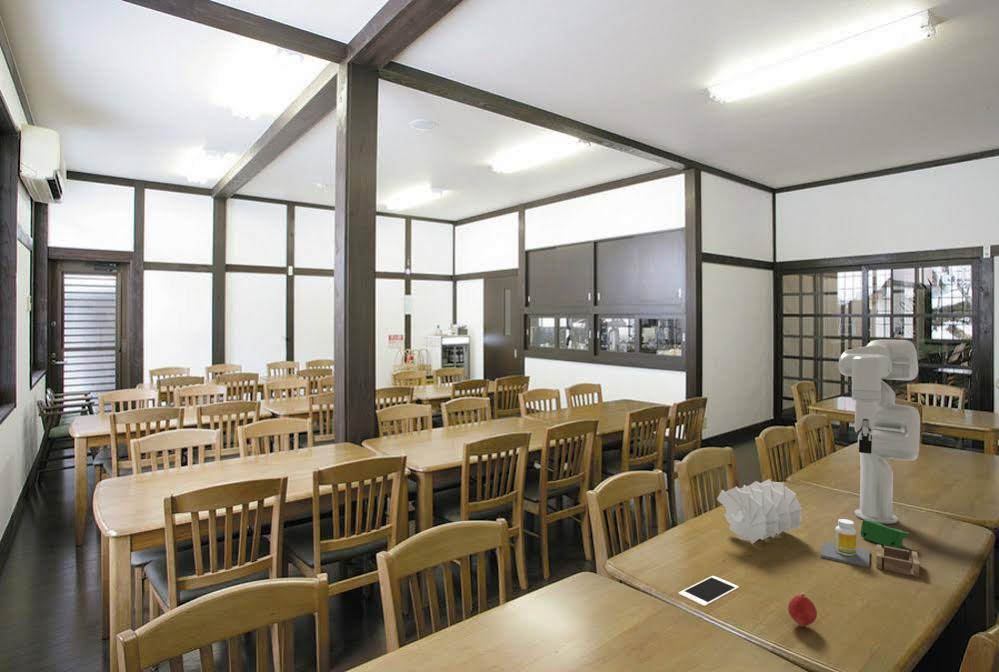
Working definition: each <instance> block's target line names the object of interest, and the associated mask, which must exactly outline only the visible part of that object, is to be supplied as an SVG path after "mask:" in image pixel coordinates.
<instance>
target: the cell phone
mask: <svg viewBox="0 0 999 672" xmlns="http://www.w3.org/2000/svg"><path fill="white" fill-rule="evenodd" d="M737 589H740V587H739V586H738V585H737V584H734V583H733V582H730V581H727V580H725V579H723V578H721V577H718V576H715V575H711V576H709V577H707V578H705V579H702V580H701V581H699V582H697V583H695V584H693V585H690V586H688V587H687V588H685V589H683V590H681V591H679V592H678V595H680V596H682V597H684V598H686V599H688V600H690V601H692V602H695V603H696V604H699V605H700V606H703V607H707V606H708V605H710V604H712V603H714V602H716V601H717V600H719V599H721V598H724V596H726V595H729V594H730V593H732V592H734V591H735V590H737Z"/></svg>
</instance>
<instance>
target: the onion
mask: <svg viewBox="0 0 999 672" xmlns="http://www.w3.org/2000/svg"><path fill="white" fill-rule="evenodd" d="M787 610H788V613H789V616H790V618H791V619H792V620H793V621H794V622H795V623H796V624H797V625H798V626H800V627H801V628H805V627H808V626H809V625H811V624H813V623H815V620H816V619H817V617H818V612H817V608H816V606H815V604H814V603H813V601H812V600H811V599H810V598H809V597H807V596H806V594H805V593H804V592H801V593H800V594H797V595H795V596H793V597H792V598H791V600H790V601H789V603H788V605H787Z"/></svg>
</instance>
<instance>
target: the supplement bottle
mask: <svg viewBox="0 0 999 672" xmlns="http://www.w3.org/2000/svg"><path fill="white" fill-rule="evenodd" d="M854 527H855V523H854V521H853V520H850V519H846V518H840V519H839V518H838V521H837V526H836V527H835V529H834V531H835V532H834V543H835V551H836V552H837V553H839V554H842V555H846V556H854V555H855V554H856V548H857V530H856V529H855V528H854Z"/></svg>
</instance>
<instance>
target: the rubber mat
mask: <svg viewBox="0 0 999 672" xmlns="http://www.w3.org/2000/svg"><path fill="white" fill-rule="evenodd" d="M820 551H821V552H820V558H821V559H826V560H829V561H830V560H831V561H835V562H840V563H844V564H850V565H854V566H858V567H864V568H867V569H869V568H870V555H871V553H870V552H871V551H870V549H865V548H860V547H856V554H855V555H854V556H846V555H842V554H839V553H837V552H836V551H835V542H830V541H825V540H824V541H823V542H822V546H821V550H820Z"/></svg>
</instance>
